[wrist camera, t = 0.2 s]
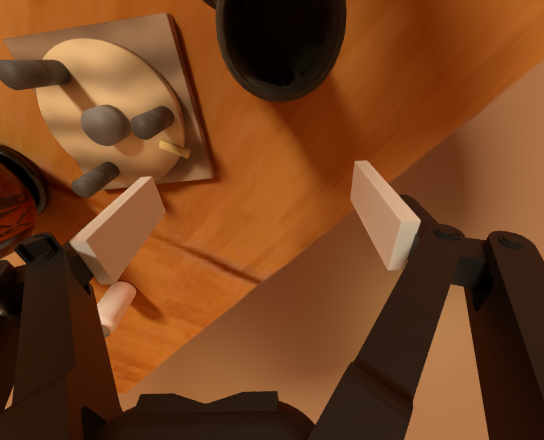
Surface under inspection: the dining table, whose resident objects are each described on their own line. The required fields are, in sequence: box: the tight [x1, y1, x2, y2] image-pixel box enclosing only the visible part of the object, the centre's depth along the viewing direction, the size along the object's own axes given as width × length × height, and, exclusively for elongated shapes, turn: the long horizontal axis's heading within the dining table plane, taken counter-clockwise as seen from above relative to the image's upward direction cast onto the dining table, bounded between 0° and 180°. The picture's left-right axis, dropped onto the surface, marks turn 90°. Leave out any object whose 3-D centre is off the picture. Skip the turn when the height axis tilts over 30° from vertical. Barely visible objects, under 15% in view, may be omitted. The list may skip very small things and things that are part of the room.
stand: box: [3, 13, 215, 190], centre depth 38 cm, size 23×23×2 cm
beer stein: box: [203, 0, 347, 103], centre depth 25 cm, size 15×11×20 cm
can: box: [97, 281, 136, 337], centre depth 59 cm, size 6×6×12 cm
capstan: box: [0, 38, 190, 198], centre depth 33 cm, size 20×20×9 cm
